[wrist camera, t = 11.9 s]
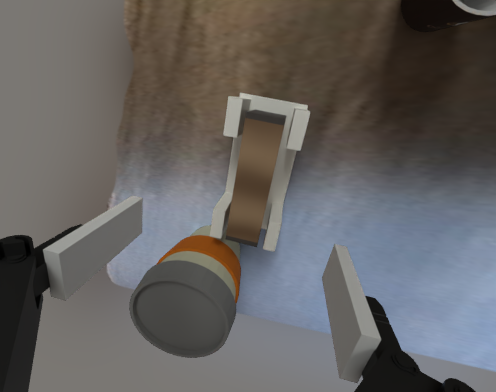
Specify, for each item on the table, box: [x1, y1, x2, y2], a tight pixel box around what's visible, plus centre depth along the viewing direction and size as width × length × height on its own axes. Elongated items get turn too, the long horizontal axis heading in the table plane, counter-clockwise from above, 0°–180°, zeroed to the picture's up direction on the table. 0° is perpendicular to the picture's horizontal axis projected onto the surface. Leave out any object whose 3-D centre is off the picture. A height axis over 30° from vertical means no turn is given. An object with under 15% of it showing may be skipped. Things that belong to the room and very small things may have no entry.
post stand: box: [210, 93, 310, 251], centre depth 32 cm, size 18×8×8 cm, turn 170°
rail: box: [225, 109, 286, 247], centre depth 31 cm, size 15×4×7 cm, turn 170°
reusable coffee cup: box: [129, 225, 241, 358], centre depth 35 cm, size 12×13×15 cm
